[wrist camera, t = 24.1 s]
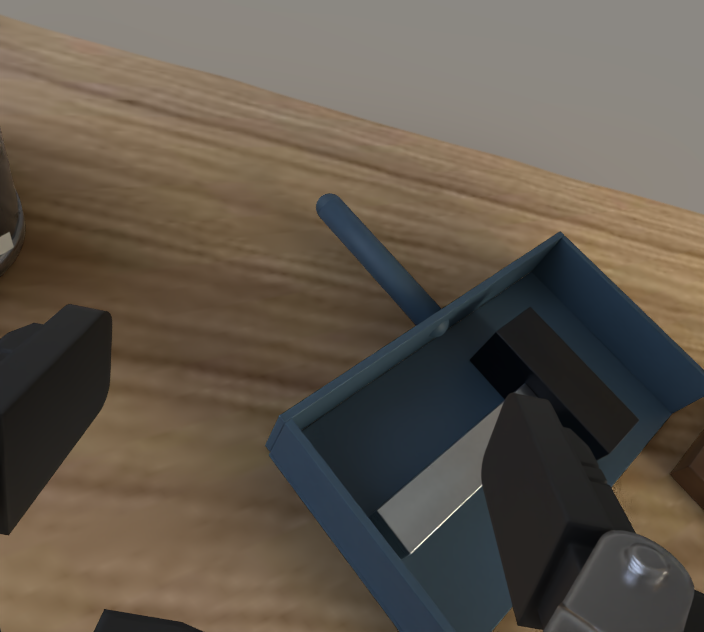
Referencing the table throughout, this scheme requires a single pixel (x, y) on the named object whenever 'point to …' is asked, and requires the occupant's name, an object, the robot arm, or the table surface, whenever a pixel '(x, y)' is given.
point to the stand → (692, 470)
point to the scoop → (458, 417)
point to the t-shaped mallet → (467, 452)
